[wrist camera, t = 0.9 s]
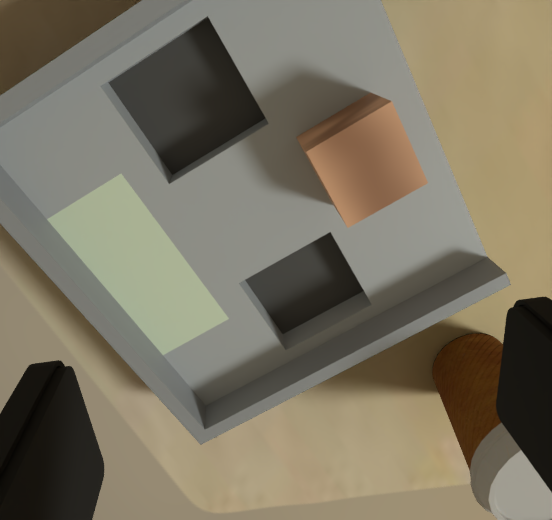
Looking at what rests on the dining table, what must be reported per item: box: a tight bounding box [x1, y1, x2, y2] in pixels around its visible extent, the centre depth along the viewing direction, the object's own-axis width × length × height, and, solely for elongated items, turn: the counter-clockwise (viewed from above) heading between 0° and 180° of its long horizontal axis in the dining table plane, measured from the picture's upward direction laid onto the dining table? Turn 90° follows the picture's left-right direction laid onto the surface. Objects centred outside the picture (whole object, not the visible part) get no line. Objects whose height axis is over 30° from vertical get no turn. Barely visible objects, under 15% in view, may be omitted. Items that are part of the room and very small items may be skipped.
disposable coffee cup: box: [432, 334, 552, 520], centre depth 36 cm, size 10×10×12 cm
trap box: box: [0, 0, 511, 445], centre depth 31 cm, size 24×25×5 cm
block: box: [296, 93, 428, 228], centre depth 28 cm, size 5×5×4 cm
